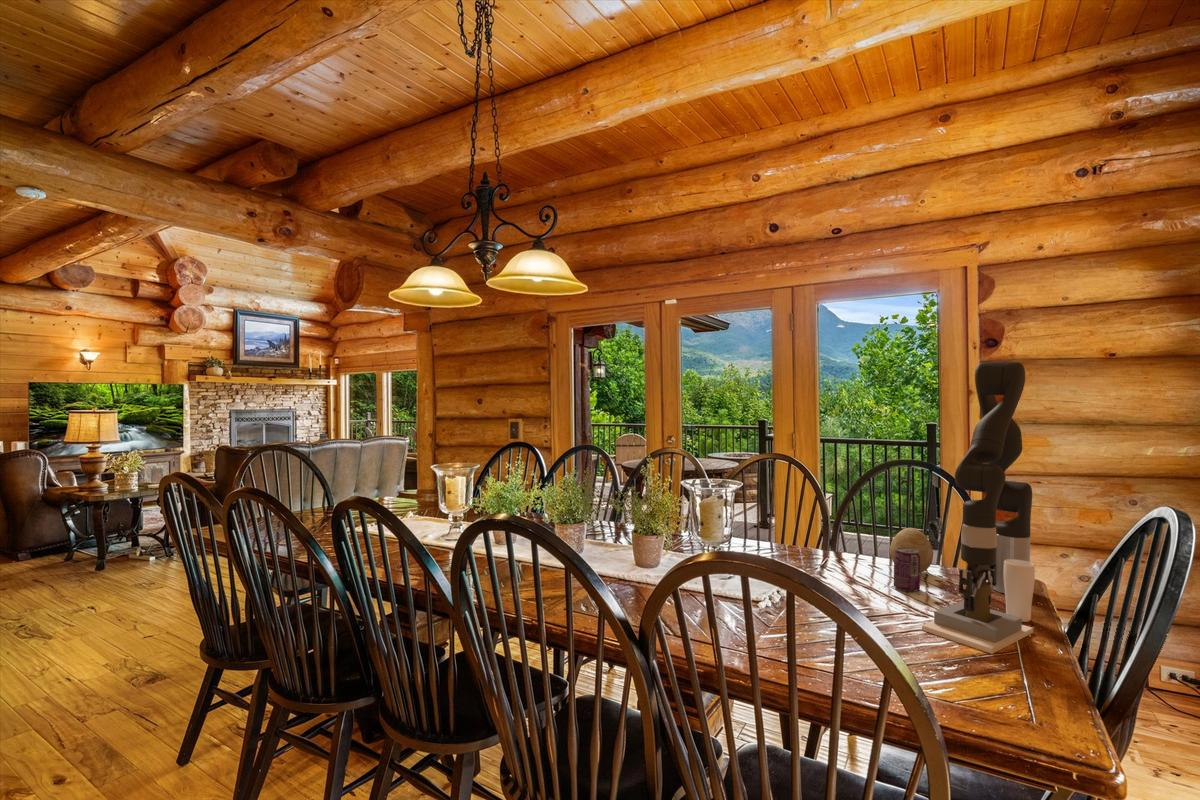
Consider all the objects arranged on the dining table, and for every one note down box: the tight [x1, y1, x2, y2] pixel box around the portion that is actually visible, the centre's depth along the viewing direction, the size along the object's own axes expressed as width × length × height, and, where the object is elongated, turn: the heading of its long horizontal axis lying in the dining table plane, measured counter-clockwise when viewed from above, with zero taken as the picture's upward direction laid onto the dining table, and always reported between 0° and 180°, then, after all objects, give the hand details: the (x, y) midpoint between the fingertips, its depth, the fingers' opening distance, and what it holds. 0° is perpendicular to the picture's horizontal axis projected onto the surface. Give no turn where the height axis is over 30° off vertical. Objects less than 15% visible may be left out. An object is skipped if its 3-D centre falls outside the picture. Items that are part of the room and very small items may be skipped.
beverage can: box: [893, 547, 921, 593], centre depth 180 cm, size 7×7×12 cm
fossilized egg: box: [889, 527, 934, 574], centre depth 196 cm, size 13×13×15 cm
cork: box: [965, 583, 992, 623], centre depth 149 cm, size 6×6×11 cm
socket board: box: [921, 600, 1034, 655], centre depth 148 cm, size 22×16×4 cm
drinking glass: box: [1004, 559, 1036, 623], centre depth 157 cm, size 7×7×15 cm
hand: (977, 607), depth 148 cm, fingers open, 8 cm apart
